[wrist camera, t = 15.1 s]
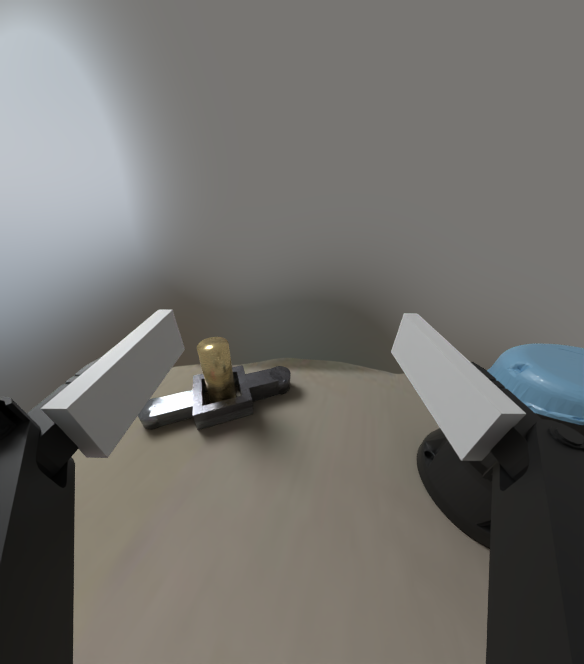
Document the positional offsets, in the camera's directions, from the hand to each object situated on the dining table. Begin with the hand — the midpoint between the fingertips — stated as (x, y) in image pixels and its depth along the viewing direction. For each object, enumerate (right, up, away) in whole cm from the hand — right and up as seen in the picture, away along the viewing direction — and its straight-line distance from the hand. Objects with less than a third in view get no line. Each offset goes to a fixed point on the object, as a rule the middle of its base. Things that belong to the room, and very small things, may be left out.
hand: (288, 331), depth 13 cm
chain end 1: (-18, -15, +29) cm, 37 cm away
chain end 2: (-9, -13, +32) cm, 36 cm away
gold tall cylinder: (-14, -14, +31) cm, 36 cm away
